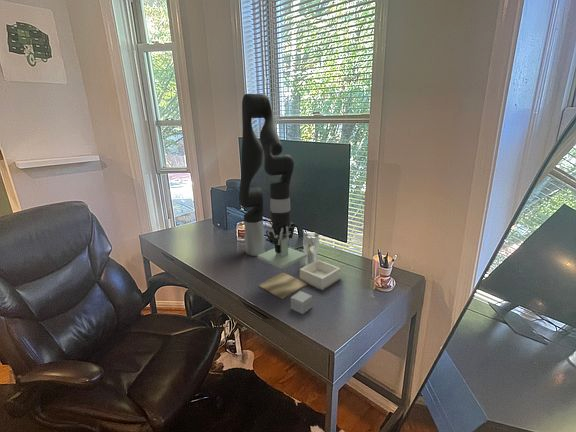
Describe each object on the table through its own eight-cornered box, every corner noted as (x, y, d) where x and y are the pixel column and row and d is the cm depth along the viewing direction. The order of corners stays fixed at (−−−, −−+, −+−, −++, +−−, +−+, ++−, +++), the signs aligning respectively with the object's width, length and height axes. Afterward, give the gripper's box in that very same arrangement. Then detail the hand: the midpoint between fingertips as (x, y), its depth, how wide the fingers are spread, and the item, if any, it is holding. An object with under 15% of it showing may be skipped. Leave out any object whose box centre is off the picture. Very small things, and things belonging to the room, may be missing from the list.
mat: (258, 286, 128) (258, 284, 128) (283, 273, 137) (283, 272, 137) (282, 299, 119) (282, 297, 118) (307, 284, 128) (307, 283, 128)
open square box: (299, 279, 132) (299, 269, 130) (318, 269, 140) (318, 259, 138) (322, 290, 124) (322, 279, 122) (340, 278, 132) (340, 268, 130)
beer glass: (321, 264, 145) (321, 233, 141) (314, 270, 140) (314, 238, 135) (307, 260, 149) (307, 231, 144) (300, 266, 143) (300, 236, 138)
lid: (257, 258, 124) (256, 238, 122) (282, 247, 133) (281, 229, 131) (281, 269, 115) (281, 248, 112) (306, 256, 124) (306, 237, 121)
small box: (300, 301, 117) (300, 290, 116) (312, 307, 114) (312, 295, 112) (290, 308, 113) (290, 296, 112) (302, 315, 110) (302, 302, 108)
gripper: (286, 203, 125) (287, 243, 131) (259, 211, 116) (261, 254, 121) (300, 206, 120) (301, 248, 125) (273, 215, 111) (275, 260, 116)
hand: (281, 251), depth 123 cm, fingers closed on lid, 3 cm apart
